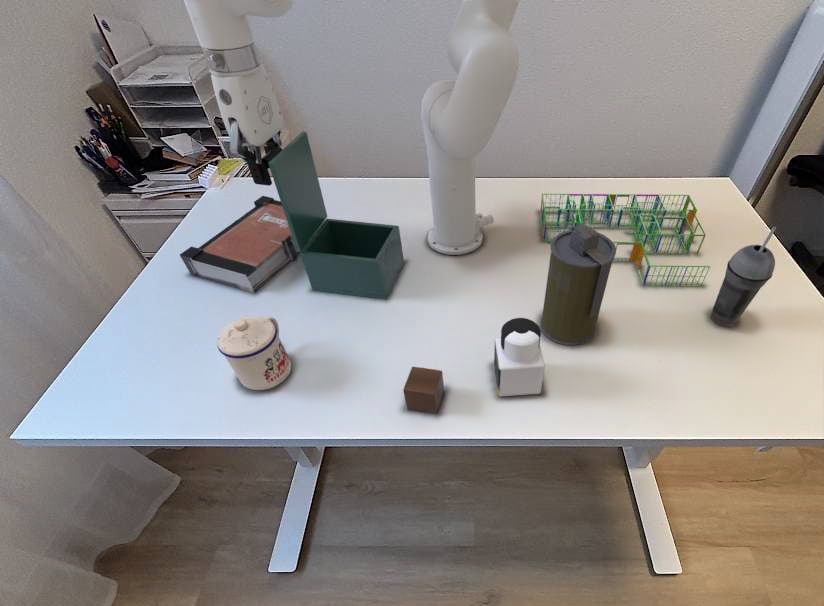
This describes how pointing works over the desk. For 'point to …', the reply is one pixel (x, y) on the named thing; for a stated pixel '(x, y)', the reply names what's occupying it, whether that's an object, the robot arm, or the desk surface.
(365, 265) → the tin
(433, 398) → the block
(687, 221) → the house model
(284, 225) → the book
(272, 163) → the lid
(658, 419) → the desk surface
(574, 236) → the canister
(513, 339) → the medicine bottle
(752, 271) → the beverage cup
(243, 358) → the teacup with lid
